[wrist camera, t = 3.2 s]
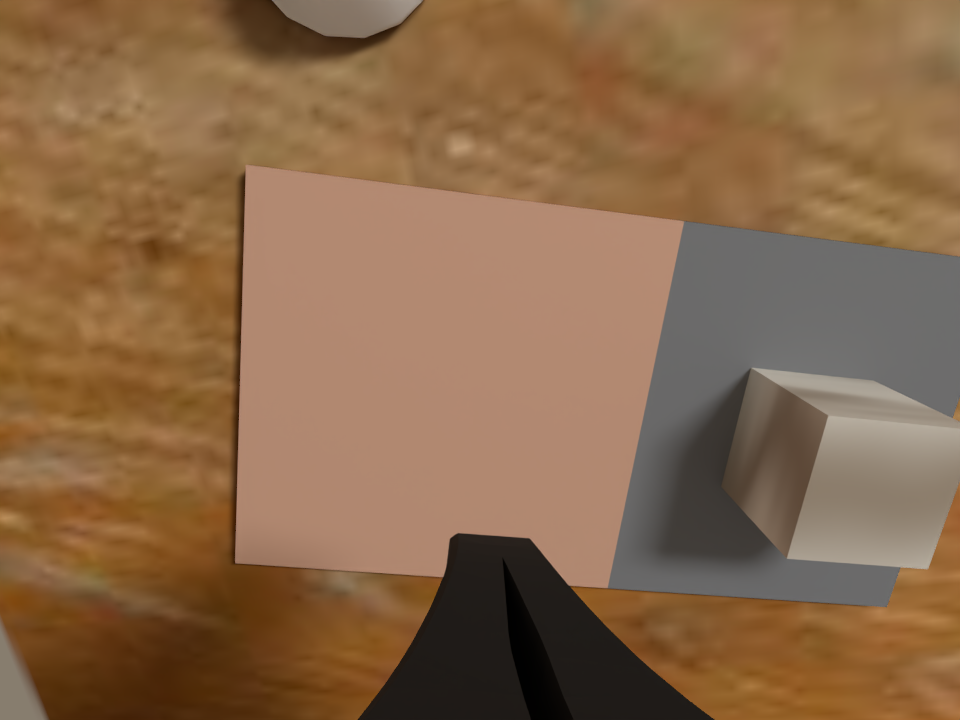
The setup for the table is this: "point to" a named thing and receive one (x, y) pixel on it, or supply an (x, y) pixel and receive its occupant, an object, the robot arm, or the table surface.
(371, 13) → the white jar
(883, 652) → the table surface
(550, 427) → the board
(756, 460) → the cream block
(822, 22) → the table surface
